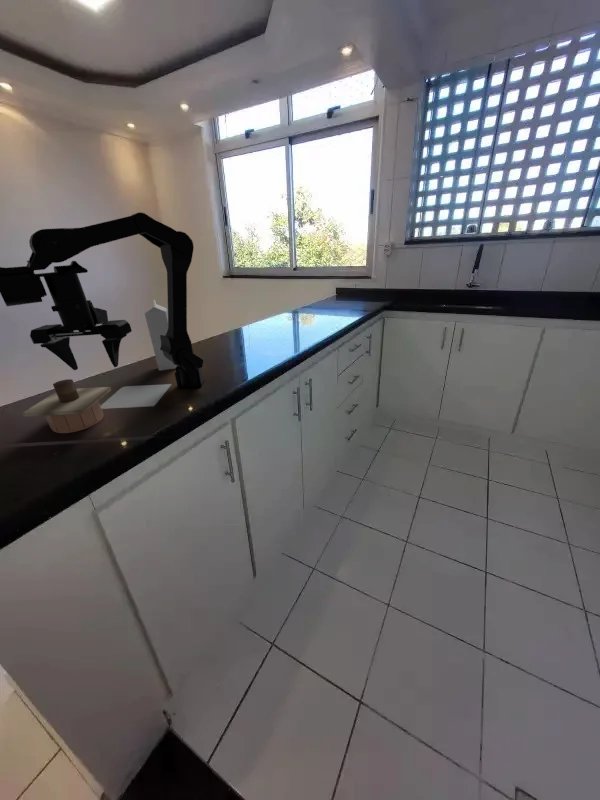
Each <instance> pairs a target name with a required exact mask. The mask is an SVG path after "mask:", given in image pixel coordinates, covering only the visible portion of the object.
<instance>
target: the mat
mask: <svg viewBox="0 0 600 800" xmlns="http://www.w3.org/2000/svg"><path fill="white" fill-rule="evenodd" d="M171 386H172V383H168V384H167V383H165V384H151V385H150V384H148V385H147V384H146V385H130V386H129V385H126V386H122V387H120V389H118V390H117V391H116V392H115V393H114V394H113V395H111V396H110V397H109V398H108V399H106V401H104V403H102V404H100V406H101V409H102V410H106V409H107V410H108V409H126V408H143V407H145V408H146V407H155V405H157V403H158V402H159V401H160V399H161V398H162V397H163V396H164V394H165V393H166V392H167V391H168V390H169V388H170V387H171Z"/></svg>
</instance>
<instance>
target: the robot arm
mask: <svg viewBox="0 0 600 800" xmlns="http://www.w3.org/2000/svg"><path fill="white" fill-rule="evenodd" d="M137 235H140V236H141V237H143V238H144V239H145V240H147V241H148V242H149V243H151V244H152V245H154V246H156V247H157V248H159V249H160V254H161V259H162V261H163V264H164V267H165V270H166V278H167V280H166V281H167V282H166V284H167V310H168V331H167V333H166V335H160V339H161V348H160V350H162V351H163V354H164V356H165V357H166V358H167V359H168V360H170V361H172V362H173V364H174V365H177V367H176V368H175V369H174V370H175V372H174V377H175V381H176V385H177V387H178V388H177V391H178V390H179V391H181V390H196V389H201V388H202V387H203V385H204V384H205V382H206V379H204V374H203V369H202V368H203V365H204V359H203V358H201V357H200V356H198V355H196V354H195V353H194V351H193V343H192V341H191V337H190V335H189V332H188V313H187V312H188V311H187V310H188V301H187V300H188V299H187V297H188V293H187V292H188V289H187V287H188V285H187V284H188V283H187V281H188V280H187V279H188V276H187V275H188V271H189V268H190V266H191V264H192V261H193V254H194V242H193V240H192V239H191V237H190V236H189V235H188V233H186V232H184V231H181V230H180V231H178V230H175V229H173V228H172V227H171V226H168V225H166V224H164V223H162V222H161V221H159V220H157V219H154V218H153V217H152V216H149V215H148V214H147V213H145V212H139V211H138V212H136V213H133V214H131V215H130V216H129V215H128V216H125V217H124V216H123V217H120V218H116V219H112V220H109V221H104V222H99V223H96V224H91V225H87V226H82V227H59V228H57V227H56V228H41V229H39V230H36V231H35V232H34V233H32V234H31V236H30V238H29V242H28V243H29V248H30V249H31V255H30V257H29V258H28V260H26V263H27V264H26V265H24V266H22V265H21V266H14V267H13V266H10V267H2V266H0V296H1V298H2V300H3V302H4V304H5V306H6V307H15V306H20V305H27V304H28V305H29V304H35V303H36V304H37V303H42V302H43V298H44V297H46V296H47V290H46V289H45V285H46V287H47V289H48V291H49V294H50V296H51V299H52V301H53V304H54V305H52V306H50V308H51V310H52V312H57V314H58V315H59V318H60V322H61V323H62V324H61V323H59V324H58V323H56V324H44V325H42V326H38V327H36V328H33V329H31V330H30V334H29V337H30V339H31V341H32V344H33V345H38V344H40V345H39V346H40V347H41V348H45V349H47V350H48V351H49V352H51V353H52V354H53V355H55V356H56V357H57V358H58V359H60V360H61V361H63V363H65V364H66V365H67V366H68V367H69V368H71V369H72V370H73V371H77V370H78V368H79V367H78V363H77V360H76V358H75V356H74V353H73V351H72V349H71V346H70V340H71V337H80V336H81V337H82V336H83V337H84V336H94V335H95V336H96V335H100V336H101V337H102V338H104V339H103V340H101V342H102V345H103V347H104V349H105V352H106V354H107V357H108V358H109V360H110V362H111V364H112V366H113V367H114V368H117V367H118V366H119V357H120V355H119V354H120V346H121V341H123V340H122V339H124V338H125V337H127V335H128V334H130V333H131V332H133V330H132V328H131V324H130V323H129V321H127V320H126V319H118V320H117V319H115V320H113V319H112V320H109V317H108V311H107V310H106V309H103V308H99V307H95V306H94V304H93V302H92V301H91V300H90V299H89V300H87V298H86V294H85V291H84V289H83V287H82V284H81V283H82V282H81V281H80V278H79V275H78V274H85V273H86V274H87V273H88V271H89V270H88V269H87V268H86V267H84V266H82V265H80V264H79V263H78V261H76V260H72V261H71V262H70V264H66V265H54V266H53V271H52V272H41V273H35V271H43V270H46V269H47V268H48V267H49V266H51V265H52V264H57V263H63V262H65V261H67V260H70V259H71V258H74V257H75V256H78V255H79V254H80V253H83V252H84V251H86V250H88V249H90V248H93V247H96V246H100V245H104V244H107V243H111V242H115V241H118V240H121V239H125V238H130V237H134V236H137ZM41 278H43V280H44V282H45V285H44V283H43V281H42V279H41Z"/></svg>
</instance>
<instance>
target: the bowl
mask: <svg viewBox="0 0 600 800" xmlns="http://www.w3.org/2000/svg"><path fill="white" fill-rule="evenodd" d="M99 401H100V400H99ZM99 401H98V402H96V403H95V404H94V405H93V406H91V407H90V408H89V409H88V410H87V411H85V412H84V413H83V414H66V415H48V416H44V417H45V419H46V421H47V423H48V425H49V427H50V429H51V430H52V431H53V432H54V433H58V434H69V433H75V432H79V431H83V430H85V429H88V428H90V427H93V426H94V425H96V424H97V423H99V422H101V420H103V418H104V413H103V409H101V404H100V402H99Z"/></svg>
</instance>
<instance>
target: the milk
mask: <svg viewBox="0 0 600 800" xmlns="http://www.w3.org/2000/svg"><path fill="white" fill-rule="evenodd" d="M144 317H145V320H146V325H147V328H148V329H147V330H148V332H149V337H150V340H151V344H152V347H153V348H152V349H153V353H154V357H155V360H156V365H157V369H158V371H166V370H175V368H176V367H177V365H174V364H173V362H172V361H170V360H168V359H167V358H166V357H165V356H164V354H163V351H162V350H160V348H161V339H160V335H166V333H167V331H168V307H167V308H166V307H164V306H162V305H160V304H157V301H156V299H153V301H152V306H151V307H149V309H147V310H146V311H145V312H144Z"/></svg>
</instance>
